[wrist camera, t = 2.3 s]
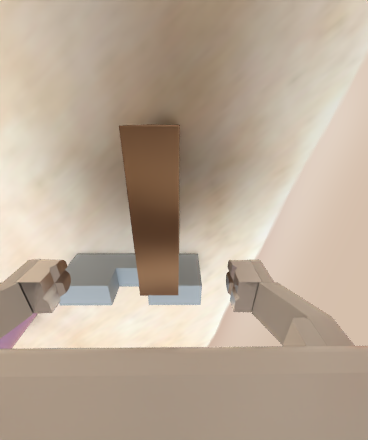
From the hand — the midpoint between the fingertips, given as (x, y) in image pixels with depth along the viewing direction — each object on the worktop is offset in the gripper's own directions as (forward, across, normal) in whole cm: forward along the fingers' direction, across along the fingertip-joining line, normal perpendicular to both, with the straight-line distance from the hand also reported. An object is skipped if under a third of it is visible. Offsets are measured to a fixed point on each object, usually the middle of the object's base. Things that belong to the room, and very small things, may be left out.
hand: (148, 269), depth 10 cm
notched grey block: (+14, +4, +10) cm, 17 cm away
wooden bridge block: (+13, 0, -1) cm, 13 cm away
